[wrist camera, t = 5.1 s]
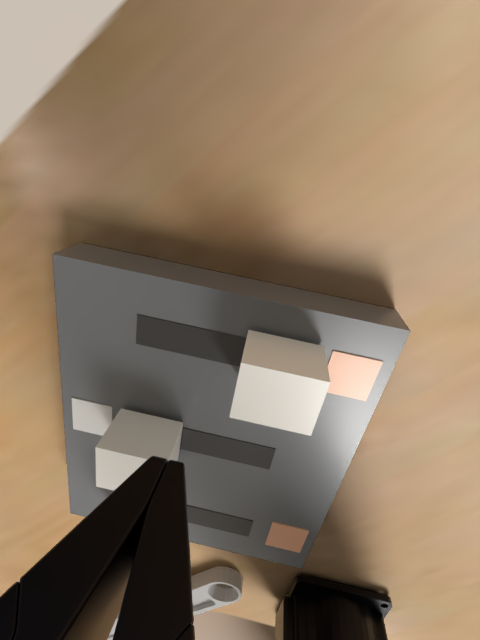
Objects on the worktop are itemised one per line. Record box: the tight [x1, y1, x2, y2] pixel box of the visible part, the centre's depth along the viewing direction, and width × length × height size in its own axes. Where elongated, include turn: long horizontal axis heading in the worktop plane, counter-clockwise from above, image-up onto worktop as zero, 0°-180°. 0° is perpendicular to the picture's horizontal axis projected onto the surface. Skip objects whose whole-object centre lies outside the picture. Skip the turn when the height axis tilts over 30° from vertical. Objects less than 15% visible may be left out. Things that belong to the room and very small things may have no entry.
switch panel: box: [52, 242, 410, 569], centre depth 18 cm, size 14×16×2 cm
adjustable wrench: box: [107, 566, 243, 640], centre depth 29 cm, size 25×6×2 cm, turn 125°
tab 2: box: [229, 330, 331, 436], centre depth 13 cm, size 3×2×2 cm
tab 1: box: [95, 408, 183, 491], centre depth 16 cm, size 3×2×2 cm
